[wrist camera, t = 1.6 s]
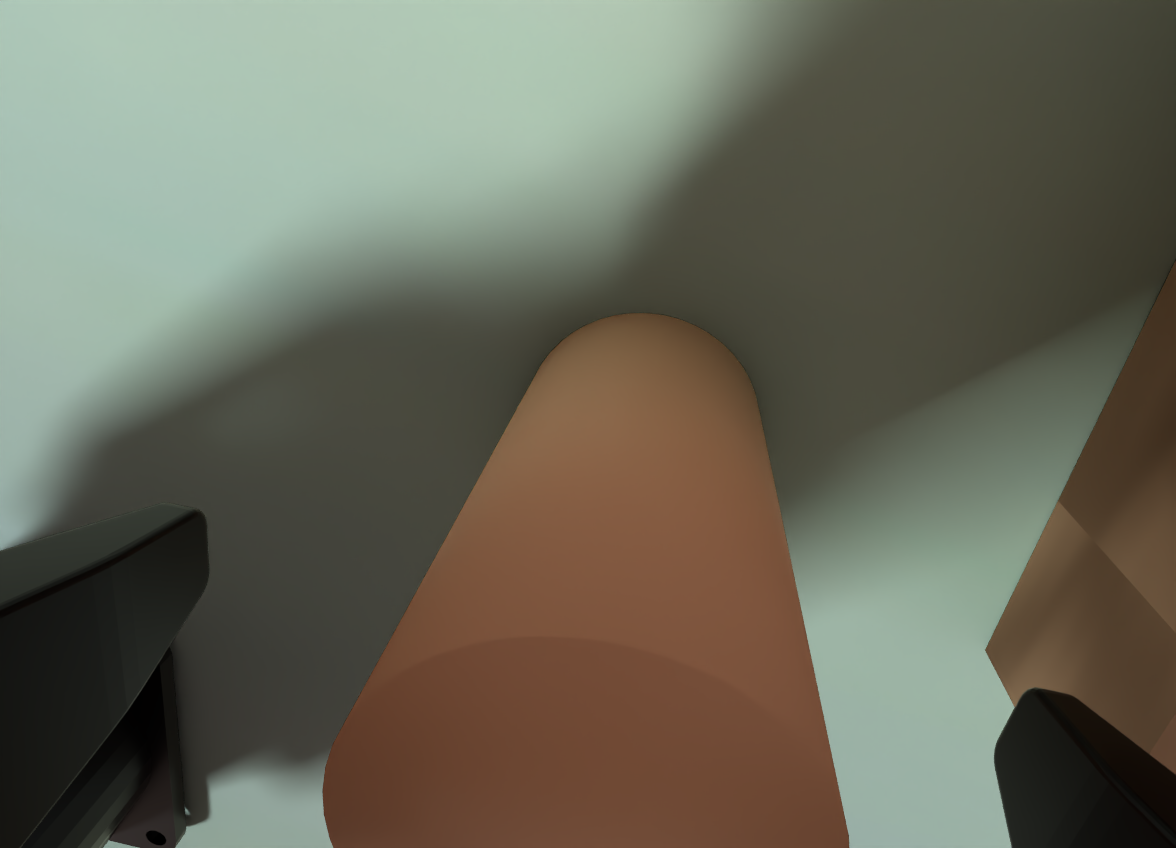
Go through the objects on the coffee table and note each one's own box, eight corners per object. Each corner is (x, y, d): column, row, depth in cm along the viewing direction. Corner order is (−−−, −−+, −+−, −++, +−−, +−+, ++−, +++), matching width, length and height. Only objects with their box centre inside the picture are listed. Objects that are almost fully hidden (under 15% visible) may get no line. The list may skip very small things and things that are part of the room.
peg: (727, 547, 14) (768, 1057, 7) (512, 502, 14) (318, 949, 7) (787, 339, 12) (930, 711, 5) (542, 291, 12) (328, 580, 5)
